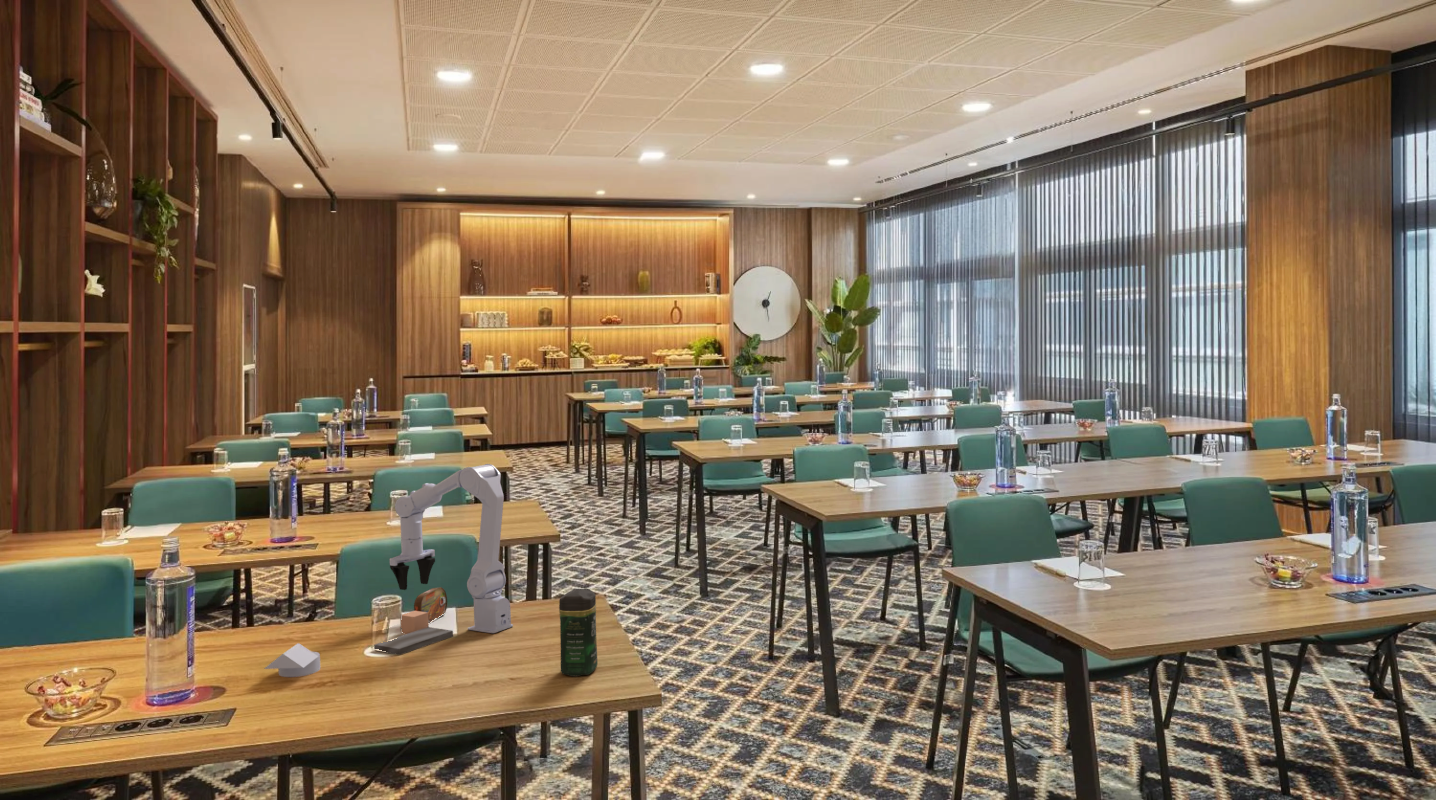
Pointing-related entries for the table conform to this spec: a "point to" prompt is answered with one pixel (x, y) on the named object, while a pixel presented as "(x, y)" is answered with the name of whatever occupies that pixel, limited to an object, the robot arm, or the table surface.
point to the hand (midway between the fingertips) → (413, 586)
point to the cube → (414, 621)
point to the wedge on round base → (296, 662)
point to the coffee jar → (578, 632)
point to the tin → (432, 603)
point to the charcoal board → (414, 640)
